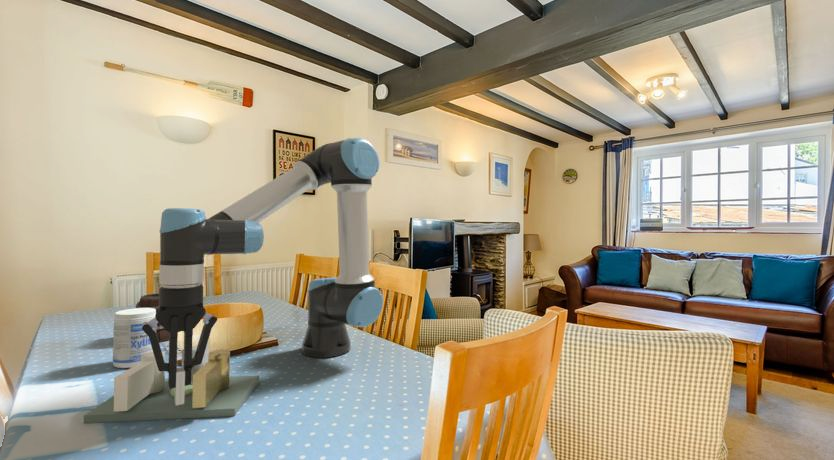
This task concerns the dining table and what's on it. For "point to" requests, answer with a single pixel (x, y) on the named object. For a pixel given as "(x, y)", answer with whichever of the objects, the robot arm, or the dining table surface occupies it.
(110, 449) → the dining table surface
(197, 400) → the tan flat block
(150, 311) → the supplement tub
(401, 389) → the dining table surface
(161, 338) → the mug
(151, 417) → the base
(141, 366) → the cream piece
